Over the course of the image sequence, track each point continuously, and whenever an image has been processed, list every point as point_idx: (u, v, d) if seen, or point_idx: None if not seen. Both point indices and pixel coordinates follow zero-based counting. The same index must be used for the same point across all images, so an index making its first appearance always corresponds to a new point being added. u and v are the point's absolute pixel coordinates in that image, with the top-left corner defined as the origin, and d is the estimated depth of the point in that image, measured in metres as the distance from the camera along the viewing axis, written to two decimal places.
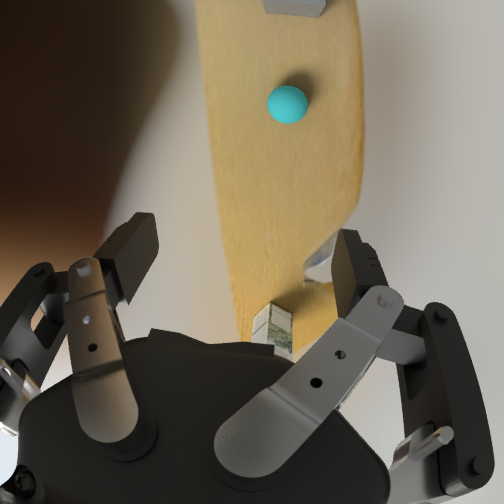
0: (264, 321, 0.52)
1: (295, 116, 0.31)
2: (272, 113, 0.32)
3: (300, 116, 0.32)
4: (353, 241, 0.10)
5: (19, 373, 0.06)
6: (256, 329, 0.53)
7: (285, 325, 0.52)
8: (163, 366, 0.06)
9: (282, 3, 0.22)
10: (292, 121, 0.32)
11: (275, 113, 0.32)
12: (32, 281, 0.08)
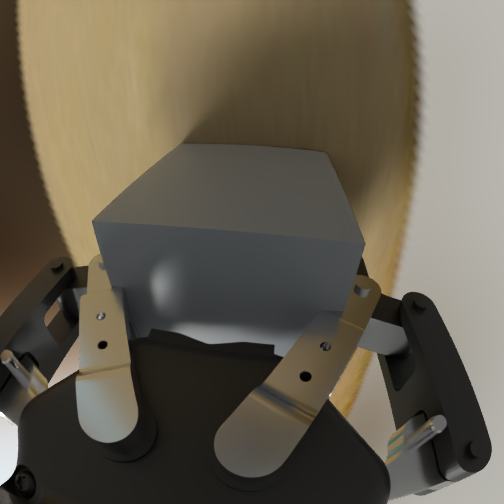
0: None
1: None
2: None
3: None
4: None
5: (27, 367, 0.06)
6: None
7: None
8: (163, 366, 0.06)
9: None
10: None
11: None
12: (50, 275, 0.08)
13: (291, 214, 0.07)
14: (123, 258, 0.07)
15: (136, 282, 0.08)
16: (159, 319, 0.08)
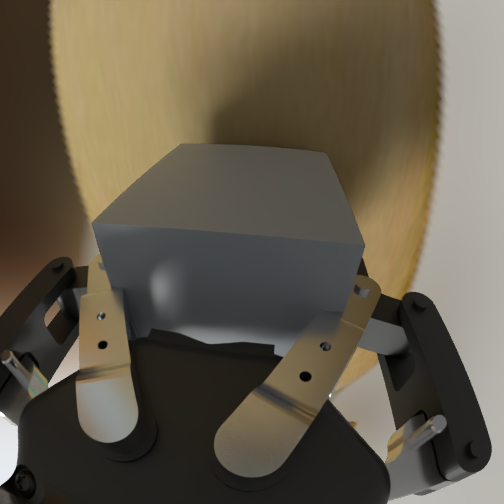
0: None
1: None
2: None
3: None
4: None
5: (27, 367, 0.06)
6: None
7: None
8: (163, 366, 0.06)
9: None
10: None
11: None
12: (50, 275, 0.08)
13: (291, 216, 0.07)
14: (123, 260, 0.07)
15: (136, 283, 0.08)
16: (159, 320, 0.08)
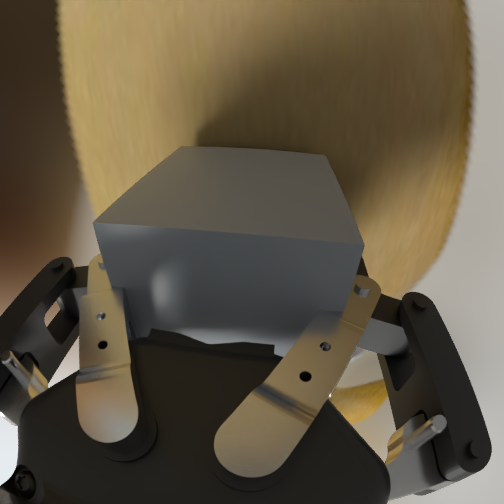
0: None
1: None
2: None
3: None
4: None
5: (27, 367, 0.06)
6: None
7: None
8: (163, 366, 0.06)
9: None
10: None
11: None
12: (50, 276, 0.08)
13: (290, 217, 0.07)
14: (124, 260, 0.07)
15: (136, 284, 0.08)
16: (159, 321, 0.08)
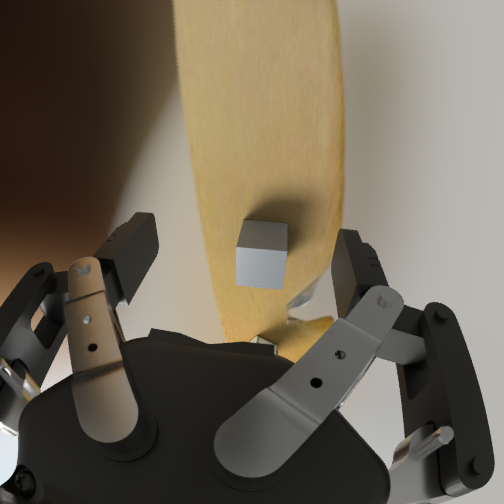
0: None
1: None
2: None
3: None
4: (353, 241, 0.10)
5: (19, 373, 0.06)
6: None
7: None
8: (163, 366, 0.06)
9: None
10: None
11: None
12: (32, 281, 0.08)
13: (274, 246, 0.38)
14: (241, 254, 0.39)
15: (243, 259, 0.39)
16: (246, 268, 0.40)
